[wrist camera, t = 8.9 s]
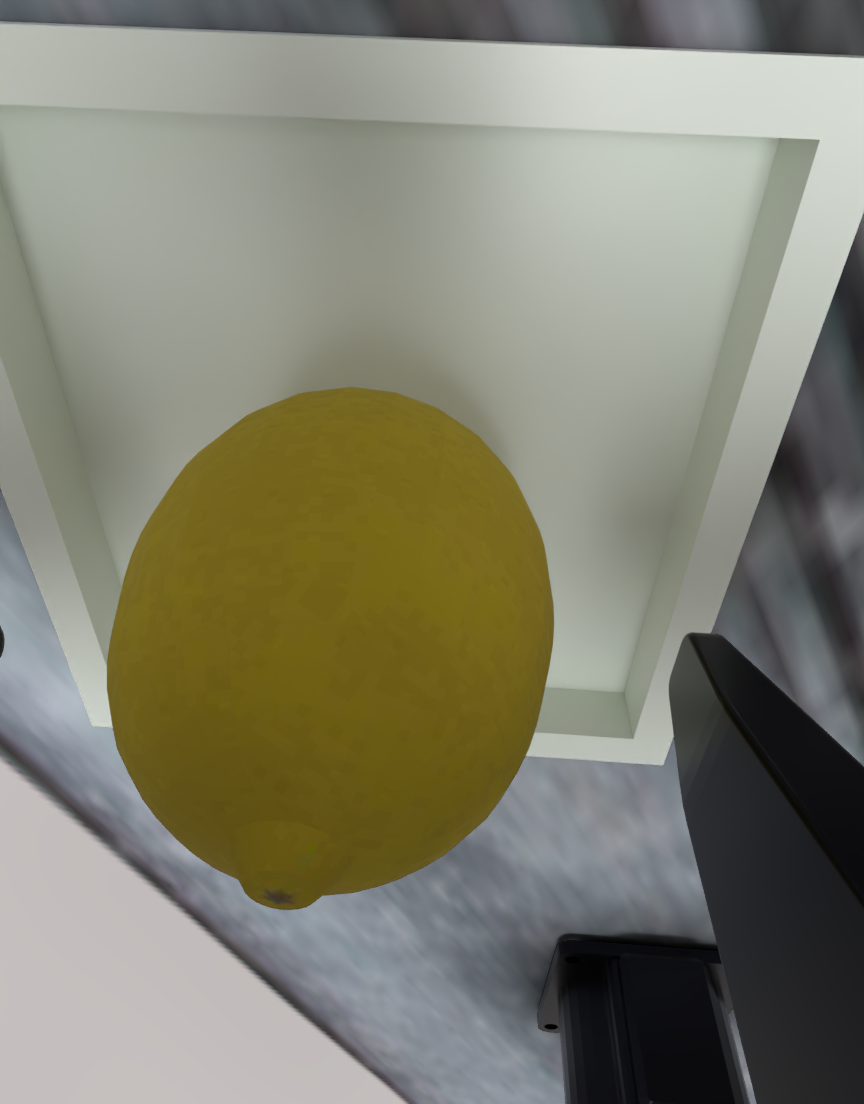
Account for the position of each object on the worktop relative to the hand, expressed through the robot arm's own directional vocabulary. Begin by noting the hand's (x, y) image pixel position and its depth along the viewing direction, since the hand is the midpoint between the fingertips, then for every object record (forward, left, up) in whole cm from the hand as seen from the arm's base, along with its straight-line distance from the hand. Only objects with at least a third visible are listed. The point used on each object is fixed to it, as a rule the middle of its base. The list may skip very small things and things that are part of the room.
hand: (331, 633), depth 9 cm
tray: (0, 0, -5) cm, 5 cm away
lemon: (0, 0, -5) cm, 5 cm away
